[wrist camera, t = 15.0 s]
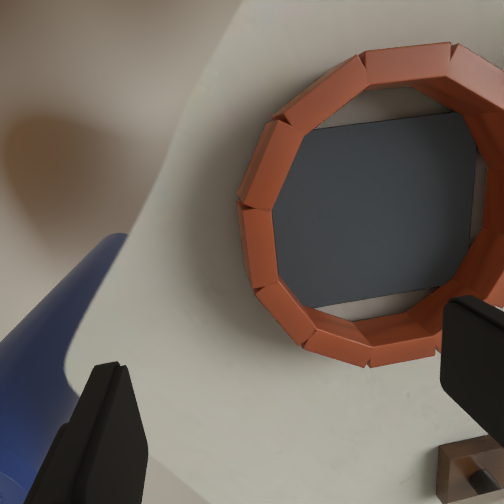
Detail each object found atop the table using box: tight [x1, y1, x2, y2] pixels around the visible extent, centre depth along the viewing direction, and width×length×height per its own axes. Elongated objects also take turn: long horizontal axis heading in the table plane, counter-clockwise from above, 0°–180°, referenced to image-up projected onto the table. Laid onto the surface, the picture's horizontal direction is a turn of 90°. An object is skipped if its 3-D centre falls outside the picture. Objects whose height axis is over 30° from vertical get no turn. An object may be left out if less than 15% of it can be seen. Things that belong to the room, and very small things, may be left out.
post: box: [436, 435, 504, 504], centre depth 31 cm, size 6×6×4 cm
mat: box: [271, 112, 477, 308], centre depth 24 cm, size 14×12×1 cm
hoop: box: [236, 42, 504, 368], centre depth 22 cm, size 19×19×3 cm
